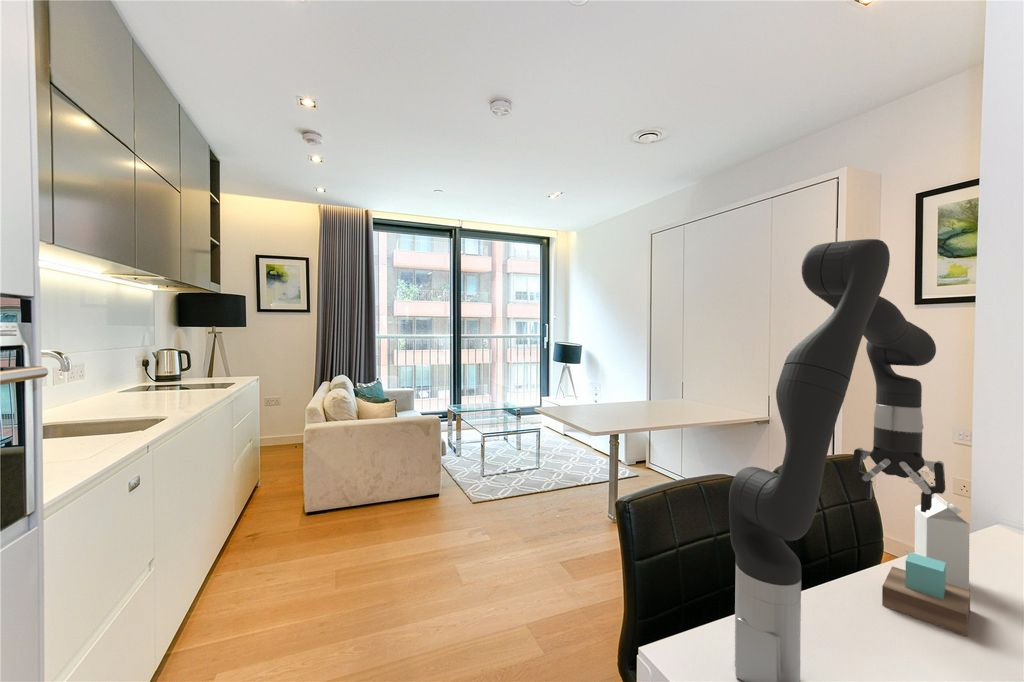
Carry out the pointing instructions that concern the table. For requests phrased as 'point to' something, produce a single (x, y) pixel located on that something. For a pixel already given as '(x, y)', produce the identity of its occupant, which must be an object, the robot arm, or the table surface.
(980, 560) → the table surface
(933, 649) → the table surface
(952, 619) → the walnut base
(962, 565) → the milk carton
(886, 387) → the robot arm
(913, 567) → the teal cube
